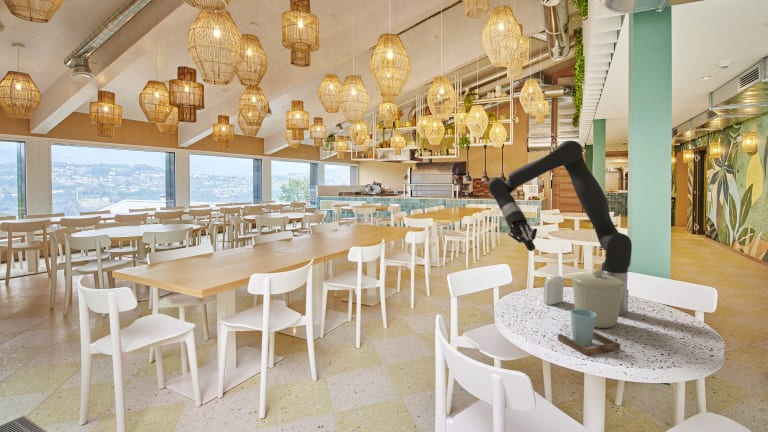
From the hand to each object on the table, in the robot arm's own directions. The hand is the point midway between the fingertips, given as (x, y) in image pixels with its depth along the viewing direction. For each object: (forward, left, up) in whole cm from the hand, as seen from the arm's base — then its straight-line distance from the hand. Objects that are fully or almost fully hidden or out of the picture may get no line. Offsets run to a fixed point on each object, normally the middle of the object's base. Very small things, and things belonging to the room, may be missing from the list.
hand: (532, 249), depth 143 cm
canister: (-21, +11, -28) cm, 37 cm away
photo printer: (-23, -14, -28) cm, 39 cm away
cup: (-2, +23, -28) cm, 37 cm away
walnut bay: (-3, +24, -28) cm, 37 cm away
